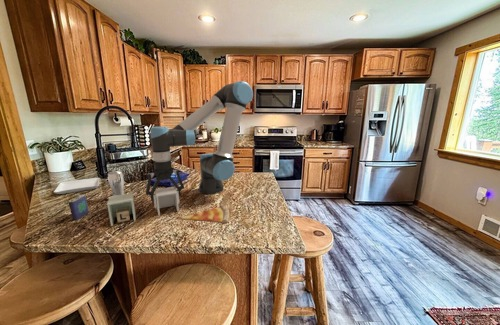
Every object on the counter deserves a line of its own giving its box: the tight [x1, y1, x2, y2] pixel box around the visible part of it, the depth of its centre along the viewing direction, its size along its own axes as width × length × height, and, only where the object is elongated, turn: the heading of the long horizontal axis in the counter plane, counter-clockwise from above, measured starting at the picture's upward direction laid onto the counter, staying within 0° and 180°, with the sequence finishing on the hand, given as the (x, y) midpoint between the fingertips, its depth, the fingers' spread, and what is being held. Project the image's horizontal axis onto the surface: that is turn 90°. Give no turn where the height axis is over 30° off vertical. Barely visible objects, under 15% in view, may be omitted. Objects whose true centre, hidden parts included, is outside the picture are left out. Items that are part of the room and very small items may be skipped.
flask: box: [68, 193, 90, 222], centre depth 93 cm, size 9×3×11 cm, turn 8°
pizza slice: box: [179, 203, 230, 224], centre depth 96 cm, size 16×22×2 cm
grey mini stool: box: [154, 186, 180, 217], centre depth 98 cm, size 9×9×10 cm
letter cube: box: [116, 207, 131, 223], centre depth 90 cm, size 5×4×4 cm
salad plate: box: [53, 177, 100, 195], centre depth 131 cm, size 21×21×3 cm
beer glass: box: [107, 170, 125, 196], centre depth 112 cm, size 7×7×15 cm
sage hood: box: [106, 192, 137, 227], centre depth 89 cm, size 9×9×10 cm
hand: (167, 204), depth 98 cm, fingers open, 10 cm apart
